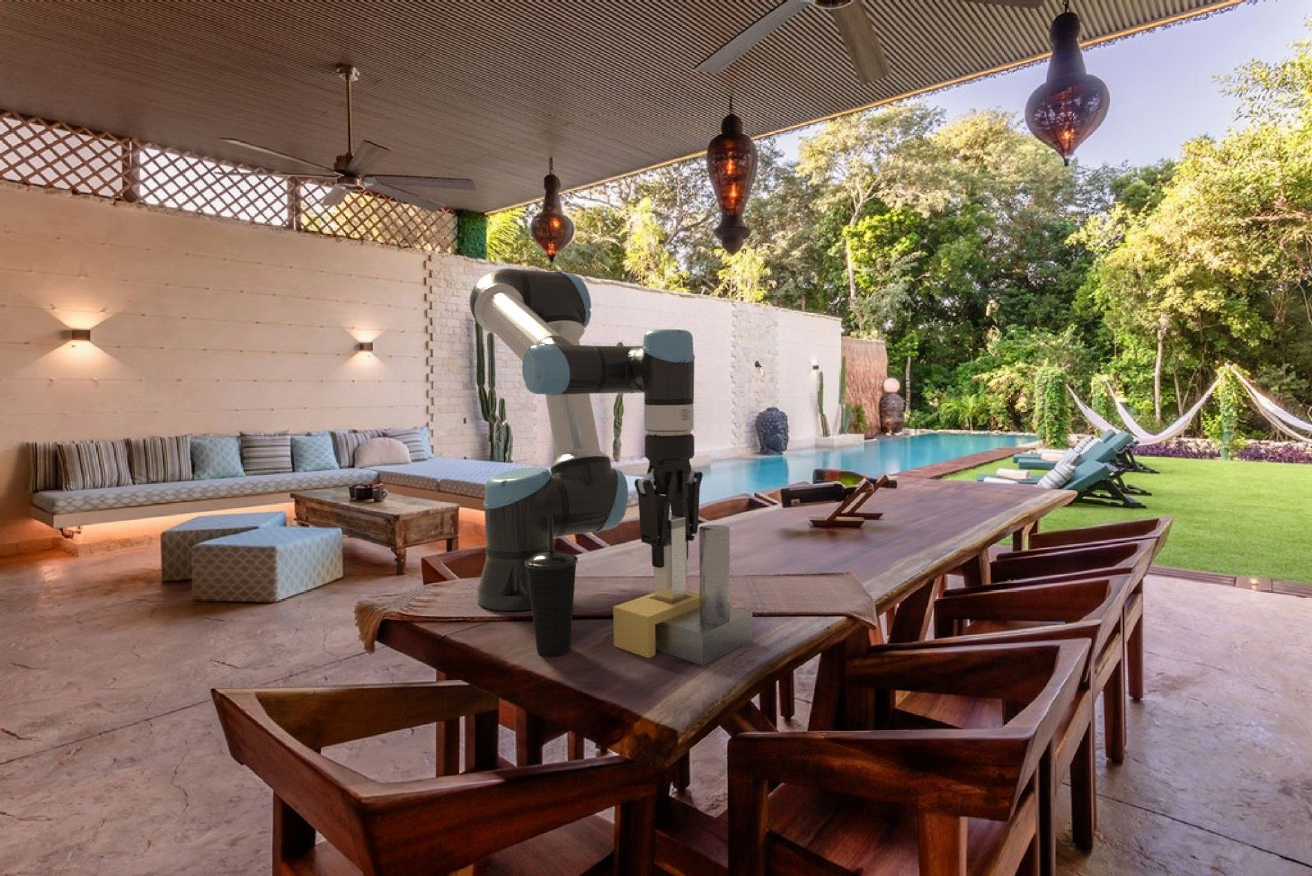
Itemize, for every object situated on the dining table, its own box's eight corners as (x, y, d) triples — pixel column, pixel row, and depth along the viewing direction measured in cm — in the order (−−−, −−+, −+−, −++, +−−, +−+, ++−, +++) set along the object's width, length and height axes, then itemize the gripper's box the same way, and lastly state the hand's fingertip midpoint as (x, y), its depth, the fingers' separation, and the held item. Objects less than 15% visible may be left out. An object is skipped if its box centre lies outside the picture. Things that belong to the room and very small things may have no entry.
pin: (656, 619, 109) (655, 517, 108) (670, 614, 112) (669, 514, 110) (672, 624, 107) (671, 520, 106) (686, 619, 109) (685, 517, 108)
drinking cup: (534, 664, 99) (530, 523, 97) (522, 645, 106) (518, 514, 104) (586, 655, 102) (583, 518, 100) (571, 637, 109) (568, 509, 107)
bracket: (613, 646, 105) (613, 606, 105) (671, 623, 115) (670, 587, 114) (648, 658, 101) (647, 617, 100) (705, 633, 110) (704, 595, 110)
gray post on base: (625, 639, 108) (624, 523, 106) (676, 619, 117) (675, 511, 115) (702, 665, 98) (702, 537, 96) (752, 641, 107) (752, 523, 105)
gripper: (651, 437, 98) (653, 602, 100) (721, 430, 110) (722, 577, 112) (613, 435, 103) (616, 591, 105) (684, 428, 115) (685, 569, 117)
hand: (670, 584), depth 109 cm, fingers closed on pin, 3 cm apart
